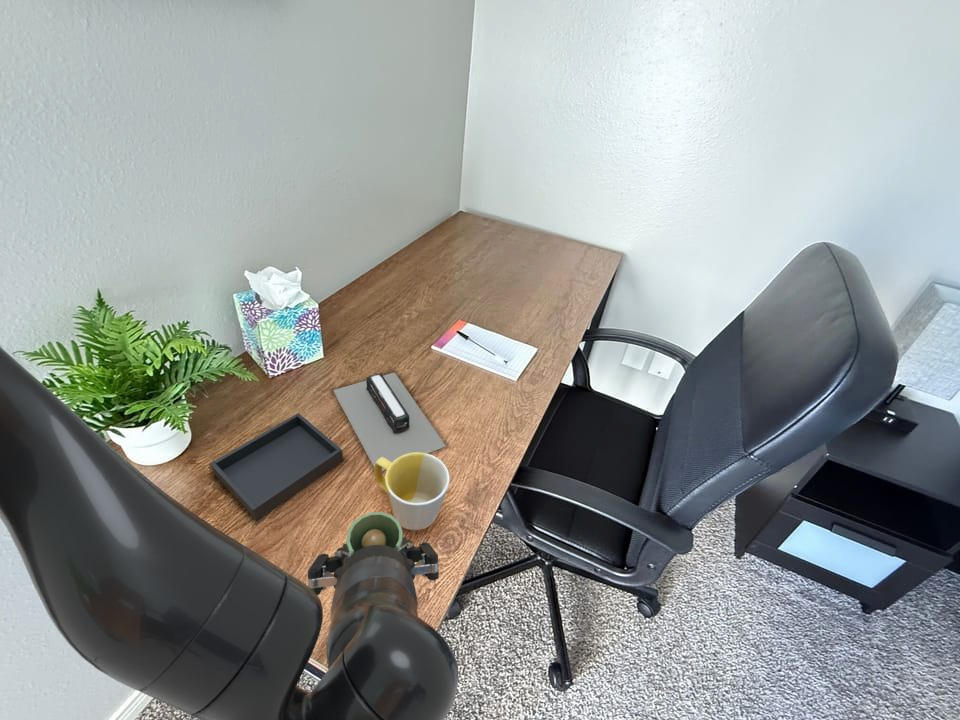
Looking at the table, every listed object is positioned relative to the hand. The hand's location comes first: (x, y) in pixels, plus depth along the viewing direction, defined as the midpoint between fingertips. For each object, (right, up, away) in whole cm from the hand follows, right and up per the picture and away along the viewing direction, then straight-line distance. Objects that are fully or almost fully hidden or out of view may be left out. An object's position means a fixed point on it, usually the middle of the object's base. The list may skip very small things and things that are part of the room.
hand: (375, 548), depth 59 cm
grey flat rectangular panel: (-6, +12, +38) cm, 40 cm away
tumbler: (0, -4, +1) cm, 5 cm away
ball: (0, +1, -2) cm, 2 cm away
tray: (-23, +4, +25) cm, 34 cm away
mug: (+1, -2, +22) cm, 22 cm away
